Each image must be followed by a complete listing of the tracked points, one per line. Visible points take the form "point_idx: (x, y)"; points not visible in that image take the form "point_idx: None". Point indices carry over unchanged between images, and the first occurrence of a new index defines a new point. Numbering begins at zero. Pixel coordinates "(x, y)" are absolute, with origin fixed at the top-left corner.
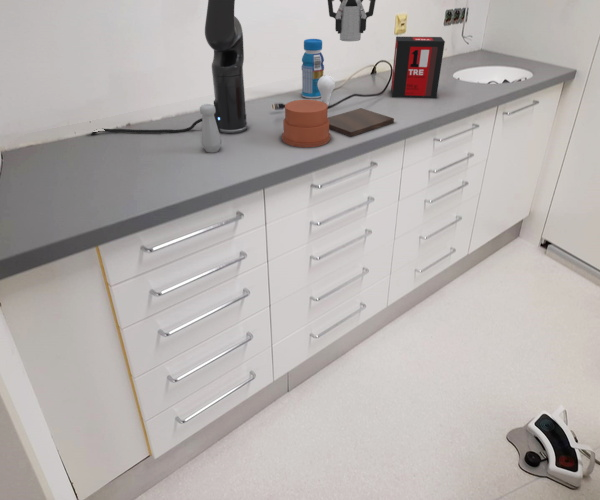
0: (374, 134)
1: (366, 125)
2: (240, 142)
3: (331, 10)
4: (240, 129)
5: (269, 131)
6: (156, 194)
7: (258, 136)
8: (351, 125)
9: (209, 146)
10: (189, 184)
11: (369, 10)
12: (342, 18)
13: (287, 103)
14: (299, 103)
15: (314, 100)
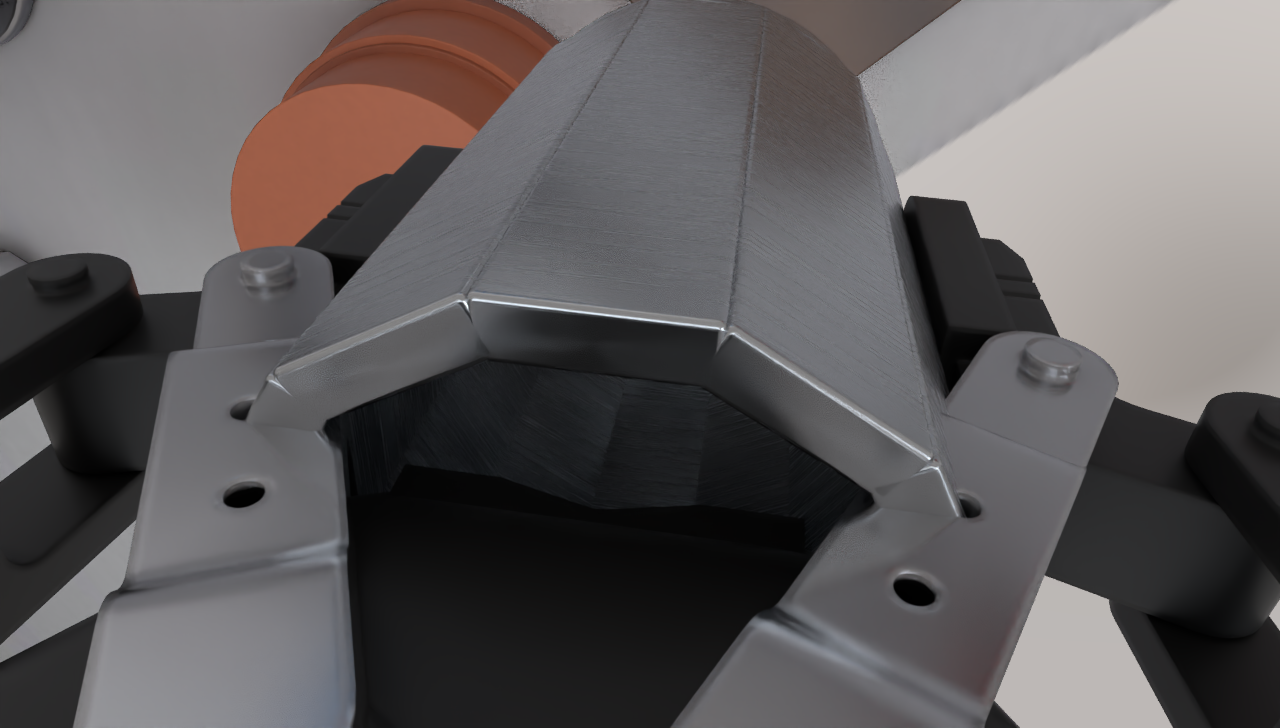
0: (927, 101)
1: (895, 15)
2: (103, 191)
3: (68, 543)
4: (11, 30)
5: (199, 5)
6: (53, 602)
7: (164, 99)
8: (775, 10)
9: None
10: (114, 560)
11: (1154, 689)
12: None
13: (237, 182)
14: (327, 189)
15: (433, 115)
